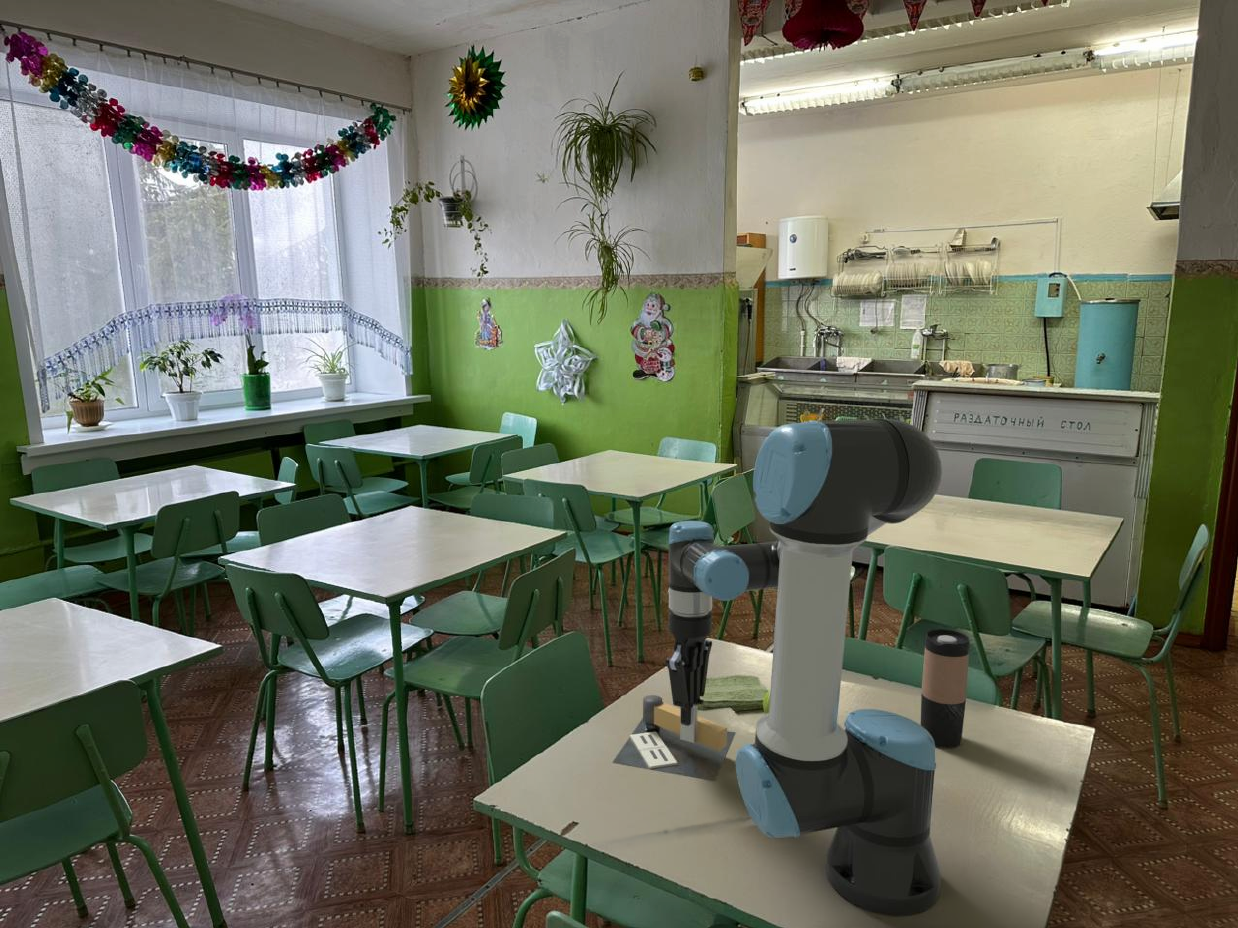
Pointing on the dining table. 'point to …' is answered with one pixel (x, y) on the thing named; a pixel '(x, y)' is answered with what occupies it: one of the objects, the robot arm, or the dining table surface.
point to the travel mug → (944, 686)
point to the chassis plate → (677, 754)
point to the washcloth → (733, 693)
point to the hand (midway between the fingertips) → (688, 739)
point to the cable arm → (670, 720)
